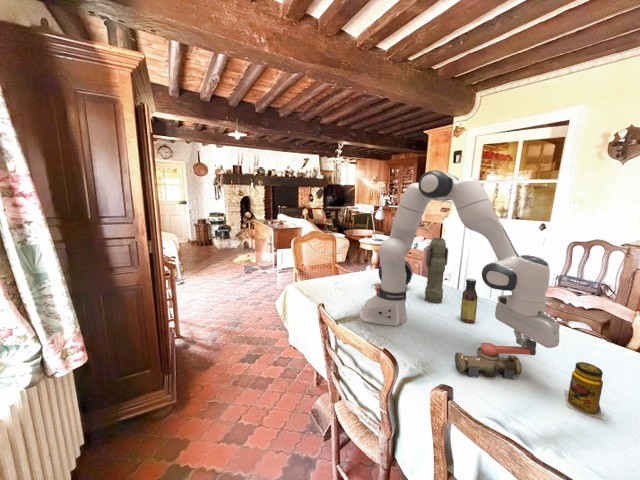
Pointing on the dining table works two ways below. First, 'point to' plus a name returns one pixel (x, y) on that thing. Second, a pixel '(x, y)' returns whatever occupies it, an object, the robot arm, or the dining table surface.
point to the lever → (509, 349)
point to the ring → (408, 272)
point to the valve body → (488, 365)
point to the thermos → (435, 270)
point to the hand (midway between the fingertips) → (521, 344)
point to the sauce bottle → (469, 302)
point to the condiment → (585, 389)
